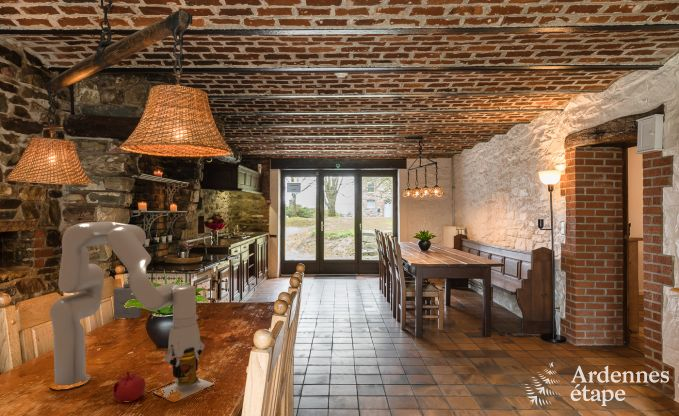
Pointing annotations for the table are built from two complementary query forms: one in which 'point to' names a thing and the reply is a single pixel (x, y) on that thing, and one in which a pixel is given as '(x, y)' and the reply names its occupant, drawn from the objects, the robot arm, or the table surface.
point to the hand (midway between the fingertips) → (185, 373)
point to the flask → (119, 301)
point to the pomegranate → (129, 387)
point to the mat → (186, 388)
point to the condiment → (187, 369)
